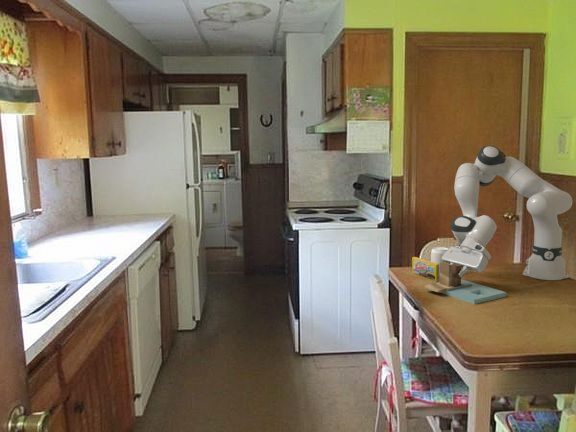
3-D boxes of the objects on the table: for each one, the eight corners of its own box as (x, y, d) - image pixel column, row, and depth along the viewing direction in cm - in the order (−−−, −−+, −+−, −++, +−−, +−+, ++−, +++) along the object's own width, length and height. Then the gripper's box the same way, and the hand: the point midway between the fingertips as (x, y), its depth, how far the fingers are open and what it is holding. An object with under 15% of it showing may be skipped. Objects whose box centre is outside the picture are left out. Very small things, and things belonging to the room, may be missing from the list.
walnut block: (454, 284, 215) (455, 263, 214) (460, 286, 212) (461, 265, 211) (448, 285, 213) (449, 264, 212) (454, 287, 210) (455, 266, 209)
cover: (439, 284, 214) (439, 261, 212) (453, 288, 207) (454, 265, 205) (423, 287, 209) (423, 264, 208) (437, 292, 202) (438, 268, 201)
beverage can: (436, 270, 246) (437, 246, 244) (451, 273, 240) (452, 248, 238) (427, 273, 240) (427, 248, 239) (442, 276, 234) (443, 251, 233)
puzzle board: (460, 284, 222) (460, 277, 221) (505, 298, 202) (506, 290, 201) (429, 291, 213) (430, 283, 212) (474, 306, 193) (474, 297, 193)
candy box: (411, 274, 240) (411, 257, 239) (414, 273, 241) (415, 256, 240) (435, 282, 226) (436, 264, 225) (439, 281, 227) (440, 263, 226)
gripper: (449, 240, 222) (431, 265, 219) (487, 248, 205) (469, 275, 201) (455, 249, 225) (439, 273, 222) (494, 257, 208) (477, 284, 204)
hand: (454, 274), depth 212 cm, fingers closed on walnut block, 3 cm apart
